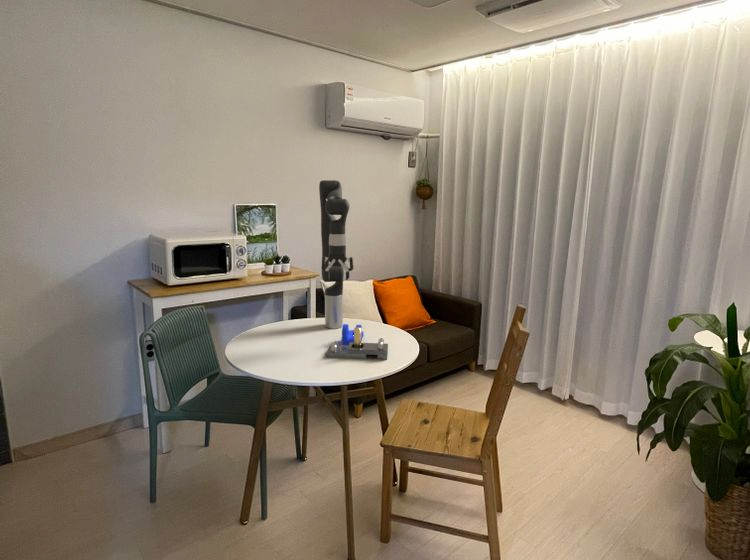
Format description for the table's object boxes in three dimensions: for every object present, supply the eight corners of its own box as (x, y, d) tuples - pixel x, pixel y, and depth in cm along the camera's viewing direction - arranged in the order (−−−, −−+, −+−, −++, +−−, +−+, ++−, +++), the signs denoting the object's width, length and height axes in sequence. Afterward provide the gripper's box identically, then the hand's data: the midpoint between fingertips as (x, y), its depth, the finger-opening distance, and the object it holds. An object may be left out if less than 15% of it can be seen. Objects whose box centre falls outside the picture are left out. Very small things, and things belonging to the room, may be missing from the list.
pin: (354, 353, 193) (354, 327, 190) (361, 353, 192) (361, 327, 190) (353, 355, 190) (353, 329, 187) (360, 356, 190) (360, 329, 187)
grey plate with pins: (329, 350, 196) (329, 336, 195) (387, 352, 195) (388, 338, 194) (325, 357, 188) (325, 342, 186) (387, 359, 186) (387, 345, 185)
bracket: (359, 346, 203) (359, 327, 201) (341, 345, 204) (341, 326, 202) (364, 334, 220) (364, 316, 219) (348, 333, 221) (348, 316, 220)
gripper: (354, 243, 201) (354, 278, 204) (323, 242, 202) (323, 277, 205) (352, 245, 194) (352, 281, 197) (320, 244, 195) (320, 280, 198)
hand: (337, 279), depth 201 cm, fingers open, 8 cm apart
